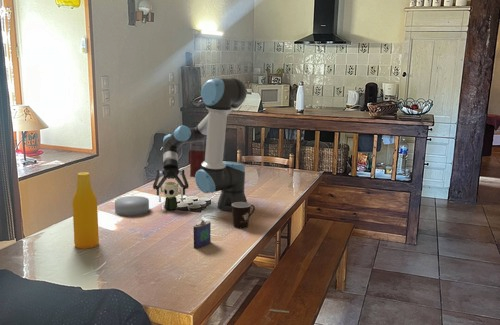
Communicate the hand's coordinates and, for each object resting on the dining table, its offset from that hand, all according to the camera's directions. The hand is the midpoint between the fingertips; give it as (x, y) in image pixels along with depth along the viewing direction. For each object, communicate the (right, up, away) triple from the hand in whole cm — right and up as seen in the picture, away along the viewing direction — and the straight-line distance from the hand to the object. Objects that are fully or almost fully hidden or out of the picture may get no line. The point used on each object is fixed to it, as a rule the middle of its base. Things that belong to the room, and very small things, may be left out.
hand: (171, 200), depth 236 cm
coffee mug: (+36, -10, -17) cm, 41 cm away
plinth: (-19, -5, 0) cm, 19 cm away
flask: (+19, -15, -41) cm, 48 cm away
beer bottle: (-26, -14, -44) cm, 53 cm away
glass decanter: (+5, +10, +73) cm, 74 cm away
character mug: (-1, -4, +4) cm, 6 cm away
